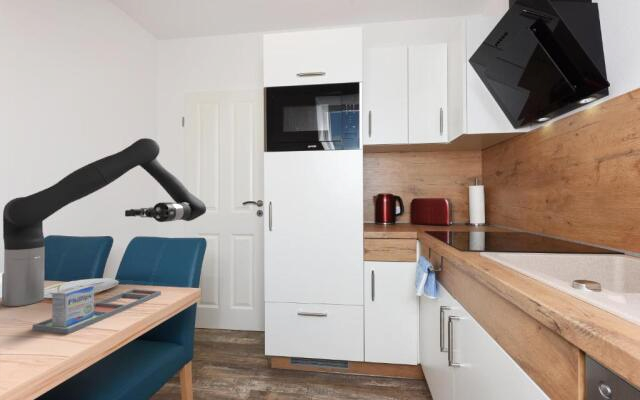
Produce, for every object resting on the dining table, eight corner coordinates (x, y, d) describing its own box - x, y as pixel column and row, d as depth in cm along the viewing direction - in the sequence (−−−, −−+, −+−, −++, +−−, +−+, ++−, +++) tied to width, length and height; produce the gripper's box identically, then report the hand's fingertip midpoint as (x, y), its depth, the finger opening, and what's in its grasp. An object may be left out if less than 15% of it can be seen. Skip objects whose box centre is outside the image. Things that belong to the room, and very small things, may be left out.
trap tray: (32, 329, 77) (32, 325, 77) (133, 292, 108) (133, 288, 108) (68, 334, 75) (68, 329, 75) (160, 294, 106) (160, 291, 106)
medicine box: (65, 328, 78) (65, 293, 78) (51, 326, 78) (51, 292, 78) (94, 316, 85) (94, 285, 85) (80, 315, 86) (81, 284, 86)
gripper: (153, 202, 123) (118, 202, 107) (184, 202, 120) (154, 203, 104) (152, 220, 123) (118, 224, 107) (184, 221, 120) (154, 225, 104)
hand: (136, 213), depth 105 cm, fingers open, 8 cm apart
